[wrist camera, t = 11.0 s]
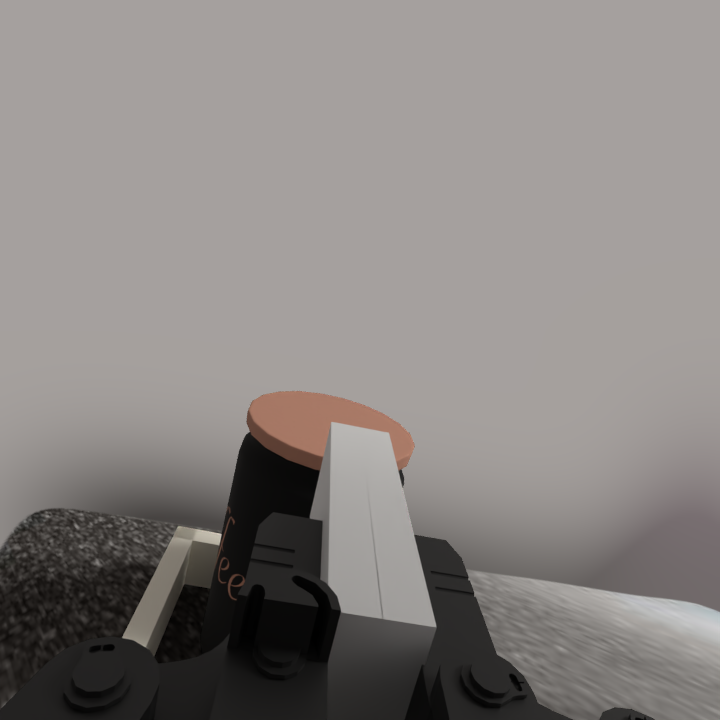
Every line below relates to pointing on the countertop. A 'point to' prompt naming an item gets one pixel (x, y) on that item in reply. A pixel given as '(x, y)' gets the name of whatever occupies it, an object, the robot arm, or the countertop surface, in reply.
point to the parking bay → (173, 583)
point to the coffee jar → (280, 482)
